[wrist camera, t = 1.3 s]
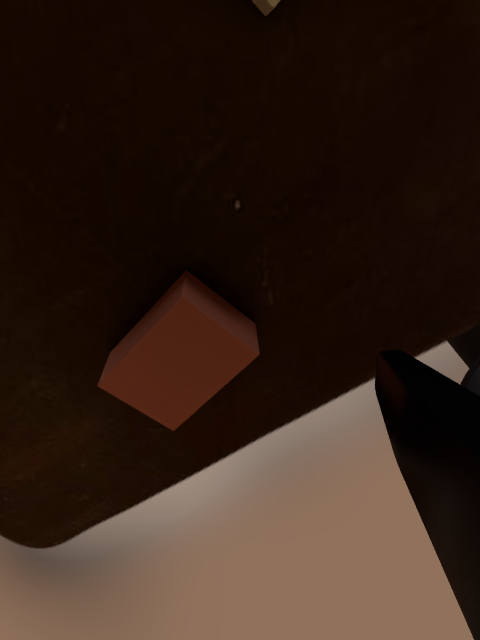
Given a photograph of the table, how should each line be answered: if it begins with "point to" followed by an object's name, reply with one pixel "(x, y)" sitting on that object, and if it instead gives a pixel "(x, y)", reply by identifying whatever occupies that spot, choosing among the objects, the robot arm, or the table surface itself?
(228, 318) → the reddish brown rectangular block
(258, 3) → the beige letter-shaped block
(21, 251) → the table surface
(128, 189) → the table surface
